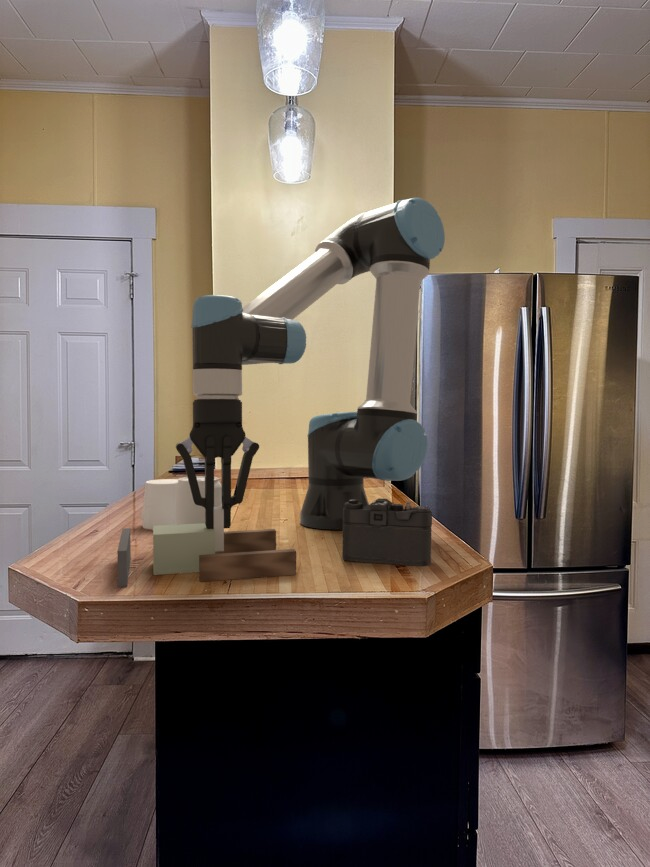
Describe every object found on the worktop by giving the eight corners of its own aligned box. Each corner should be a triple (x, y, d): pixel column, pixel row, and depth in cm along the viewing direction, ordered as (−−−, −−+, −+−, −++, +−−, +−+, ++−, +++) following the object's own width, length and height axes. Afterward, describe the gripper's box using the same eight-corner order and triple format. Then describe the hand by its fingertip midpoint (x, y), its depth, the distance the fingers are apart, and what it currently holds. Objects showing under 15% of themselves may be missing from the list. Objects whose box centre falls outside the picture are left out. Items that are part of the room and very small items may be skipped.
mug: (135, 483, 125) (149, 478, 133) (136, 530, 125) (149, 522, 133) (195, 484, 124) (205, 479, 132) (195, 530, 124) (205, 523, 132)
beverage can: (212, 551, 107) (211, 482, 106) (167, 549, 108) (167, 480, 108) (228, 541, 114) (228, 476, 114) (187, 539, 116) (186, 475, 115)
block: (210, 559, 101) (210, 523, 101) (215, 570, 94) (214, 531, 94) (153, 563, 99) (153, 525, 99) (153, 574, 92) (153, 534, 92)
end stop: (130, 558, 102) (130, 528, 101) (127, 586, 86) (126, 550, 86) (122, 559, 101) (122, 528, 101) (118, 586, 86) (117, 551, 86)
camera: (433, 552, 107) (434, 494, 106) (430, 568, 96) (431, 504, 96) (351, 547, 110) (351, 491, 109) (339, 563, 99) (339, 501, 99)
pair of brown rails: (274, 548, 109) (274, 528, 108) (296, 574, 92) (296, 551, 92) (192, 554, 105) (192, 533, 105) (200, 581, 89) (199, 557, 88)
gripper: (255, 398, 102) (255, 542, 103) (173, 398, 98) (174, 546, 99) (263, 398, 94) (263, 552, 96) (175, 397, 91) (176, 557, 92)
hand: (218, 549), depth 97 cm, fingers closed
